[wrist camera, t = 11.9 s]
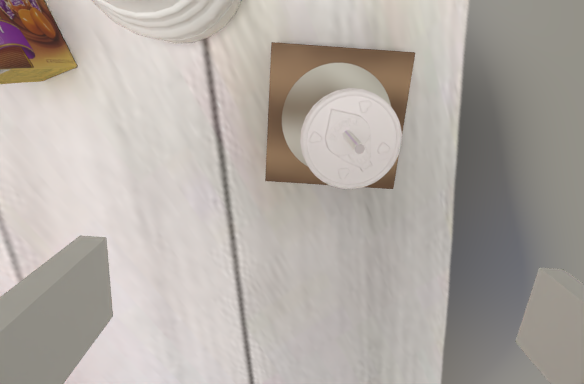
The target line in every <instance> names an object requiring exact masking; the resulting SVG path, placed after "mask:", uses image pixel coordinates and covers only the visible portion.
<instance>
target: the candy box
mask: <svg viewBox="0 0 584 384" xmlns="http://www.w3.org/2000/svg"><path fill="white" fill-rule="evenodd" d="M76 67H77V65H76V63H75V61H74V59H73V57H72V55H71V53H70V51H69V49H68V47H67V45H66V43H65V41H64V40H63V38H62V36H61V34H60V31H59V29H58V27H57V25H56V23H55V21H54V19H53V17H52V15H51V13H50V12H49V10H48V8H47V6H46V4H45V2H44V0H0V84H7V83H21V82H39V81H44V80H46V79H48V78H51V77H53V76H56V75H58V74H61V73H63V72H66V71H68V70H71V69H73V68H76Z"/></svg>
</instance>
